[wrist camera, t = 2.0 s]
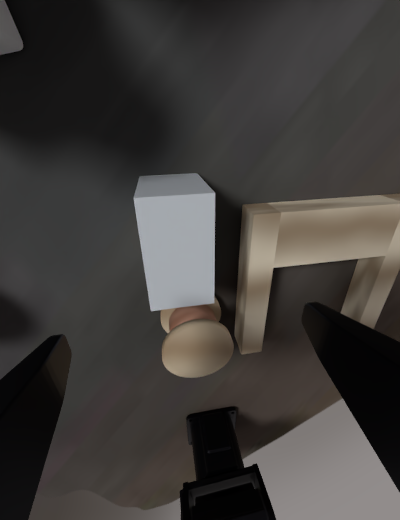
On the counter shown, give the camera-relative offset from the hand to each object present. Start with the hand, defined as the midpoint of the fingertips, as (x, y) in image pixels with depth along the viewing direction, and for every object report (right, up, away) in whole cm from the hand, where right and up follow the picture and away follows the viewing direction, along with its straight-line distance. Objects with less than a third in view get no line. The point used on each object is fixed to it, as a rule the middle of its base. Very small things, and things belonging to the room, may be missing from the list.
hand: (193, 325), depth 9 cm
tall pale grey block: (-2, +5, +10) cm, 11 cm away
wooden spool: (-1, -2, +14) cm, 14 cm away
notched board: (+11, +1, +14) cm, 18 cm away
